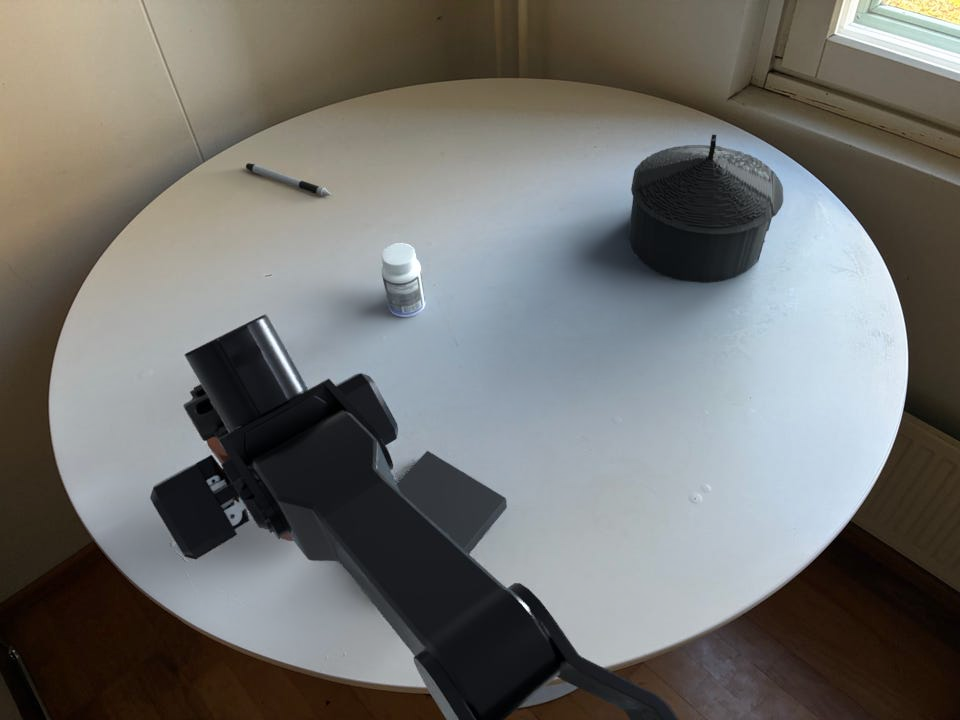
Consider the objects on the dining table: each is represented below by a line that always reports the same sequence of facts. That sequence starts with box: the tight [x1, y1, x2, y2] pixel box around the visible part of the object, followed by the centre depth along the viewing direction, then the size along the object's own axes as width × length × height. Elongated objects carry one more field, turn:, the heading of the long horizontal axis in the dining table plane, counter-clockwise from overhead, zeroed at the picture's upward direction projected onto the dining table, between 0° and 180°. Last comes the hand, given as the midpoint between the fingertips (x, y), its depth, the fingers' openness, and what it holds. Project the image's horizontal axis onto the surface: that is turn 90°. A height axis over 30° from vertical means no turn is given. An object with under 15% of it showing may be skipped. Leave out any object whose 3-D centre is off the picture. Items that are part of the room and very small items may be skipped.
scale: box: [396, 450, 508, 555], centre depth 73 cm, size 13×10×4 cm
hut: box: [628, 134, 784, 284], centre depth 96 cm, size 18×18×15 cm
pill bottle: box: [381, 242, 427, 318], centre depth 93 cm, size 5×5×8 cm
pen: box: [245, 163, 332, 198], centre depth 114 cm, size 1×16×1 cm, turn 59°
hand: (267, 456), depth 68 cm, fingers closed on jar, 7 cm apart
